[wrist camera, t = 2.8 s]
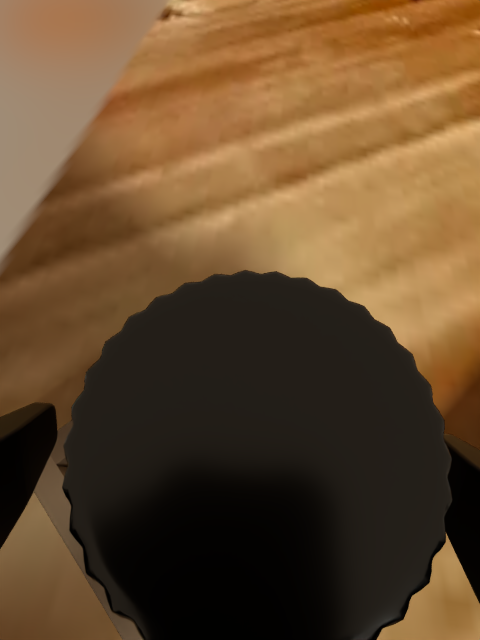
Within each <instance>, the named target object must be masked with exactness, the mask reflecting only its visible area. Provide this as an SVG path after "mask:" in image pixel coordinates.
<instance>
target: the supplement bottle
mask: <svg viewBox="0 0 480 640" xmlns="http://www.w3.org/2000/svg"><path fill="white" fill-rule="evenodd" d="M84 382H85V386H84V390H83V392H82V393H81V394H80V395H79V397H78V398H77V399H76V401H75V403H74V404H73V406H72V420H73V426H72V428H71V430H70V432H69V434H68V436H67V438H66V440H65V443H64V445H63V448H64V453H65V457H66V460H67V464H68V467H67V470H66V473H65V476H64V481H63V485H62V489H63V491H64V494H65V496H66V498H67V499H68V500H69V503H70V505H71V511H70V522H69V531H70V533H71V534H72V536H73V537H74V538H75V540H76V541H77V542H78V543H79V544H80V545H81V547H82V548H83V557H84V565H85V572H86V574H87V575H88V576H89V577H90V578H91V579H93V580H94V581H96V582H98V583H99V584H100V585H101V586H103V587H104V591H105V594H106V598H107V601H108V604H109V606H110V609H111V612H112V613H114V614H116V615H117V616H119V617H121V618H125V619H128V620H130V621H131V622H132V623H133V624H134V625H135V627H136V629H137V631H138V633H139V635H140V636H141V638H142V639H143V640H377V638H378V636H379V634H380V632H381V630H382V628H385V627H388V626H391V625H394V624H396V623H397V622H400V621H402V620H403V619H404V617H405V614H406V612H407V610H408V607H409V601H410V599H411V597H412V595H414V594H415V593H417V592H419V591H420V590H422V589H423V588H424V587H425V586H426V585H427V584H429V582H430V577H431V572H432V560H433V557H434V556H435V554H436V553H438V552H439V551H440V550H441V548H442V547H443V545H444V544H445V542H446V530H445V521H444V517H445V515H446V513H447V511H448V510H449V508H450V506H451V503H452V501H453V498H452V493H451V488H450V485H449V481H448V478H447V477H448V474H449V471H450V467H451V462H452V457H451V455H450V452H449V450H448V447H447V445H446V443H445V441H444V439H443V435H444V430H445V420H444V419H443V417H442V415H441V414H440V412H439V410H438V409H437V408H436V406H435V405H434V403H433V398H432V395H433V394H432V388H431V385H430V384H429V382H428V381H427V380H426V379H425V378H424V377H423V376H422V375H421V374H420V372H419V371H418V370H417V367H416V363H415V360H414V357H413V354H412V353H410V352H409V351H408V350H407V349H406V348H404V347H403V346H402V345H400V344H399V343H398V342H397V340H396V338H395V336H394V334H393V332H392V330H391V329H390V327H388V326H386V325H384V324H383V323H381V322H379V321H377V320H375V319H374V318H373V317H372V316H371V315H370V313H369V311H368V310H367V309H366V308H365V306H363V305H360V304H357V303H354V302H351V301H348V300H347V299H346V298H345V297H344V296H343V295H342V294H341V293H340V292H339V291H337V290H336V289H331V288H326V287H320V286H318V285H317V284H315V283H314V282H313V281H311V280H309V279H308V278H290V277H288V276H286V275H284V274H282V273H279V272H277V271H276V272H268V273H264V274H259V273H255V272H252V271H247V270H244V271H241V272H238V273H235V274H233V275H224V274H214V275H212V276H210V277H208V278H206V279H205V280H203V281H202V282H190V283H184V284H183V285H182V286H180V287H179V288H178V289H177V290H176V291H174V292H173V293H171V294H168V295H162V296H159V297H156V298H155V299H154V300H153V301H152V302H151V303H150V304H149V306H148V307H147V308H146V310H144V311H142V312H138V313H136V314H134V315H132V316H130V317H129V318H128V319H127V321H126V322H125V324H124V326H123V328H122V330H121V331H120V332H119V333H117V334H116V335H114V336H112V337H111V338H110V339H108V340H107V341H106V342H105V344H104V347H103V349H102V355H101V357H100V359H99V360H98V361H97V362H95V363H94V364H93V365H92V366H91V367H90V368H89V370H88V371H87V372H86V375H85V380H84Z"/></svg>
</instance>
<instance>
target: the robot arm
mask: <svg viewBox="0 0 480 640" xmlns="http://www.w3.org/2000/svg"><path fill="white" fill-rule="evenodd" d="M57 436H58V431H57V420H56V410H55V407H54V405H53V404H50V403H38V402H37V403H33V404H30V405H28V406H26V407H23V408H21V409H18V410H16V411H14V412H11V413H9V414H7V415H4V416H2V417H0V549H1V547H2V546H3V544H4V542H5V541H6V539H7V537H8V536H9V534H10V532H11V531H12V529H13V527H14V526H15V524H16V522H17V521H18V519H19V517H20V516H21V514H22V512H23V510H24V509H25V507H26V505H27V503H28V502H29V500H30V498H31V496H32V494H33V491H34V489H35V487H36V485H37V483H38V481H39V479H40V476H41V474H42V472H43V470H44V468H45V466H46V464H47V461H48V459H49V457H50V455H51V453H52V451H53V449H54V446H55V444H56V441H57ZM443 439H444V441H445V443H446V445H447V447H448V450H449V452H450V455H451V457H452V462H451V467H450V471H449V474H448V477H447V478H448V481H449V485H450V488H451V493H452V498H453V501H452V503H451V506H450V508H449V510H448V511H447V513H446V515H445V517H444V521H445V530H446V533H447V536H448V538H449V540H450V542H451V544H452V547H453V549H454V551H455V553H456V555H457V557H458V559H459V561H460V563H461V565H462V568H463V570H464V572H465V574H466V576H467V578H468V580H469V582H470V584H471V587H472V589H473V591H474V593H475V595H476V597H477V599H478V601H479V603H480V450H479V449H477V448H475V447H473V446H471V445H470V444H468V443H466V442H464V441H462V440H461V439H459V438H457V437H455V436H454V435H451V434H444V435H443Z"/></svg>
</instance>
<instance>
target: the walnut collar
mask: <svg viewBox="0 0 480 640" xmlns="http://www.w3.org/2000/svg"><path fill="white" fill-rule="evenodd" d="M72 426H73V420H71V421H70V422H68V423H67V424H66V425H64V426H63V427H62V428H60V429H59V430H58V436H57V441H56V444H55V446H54V449H53V451H52V453H51V455H50V457H49V459H48V461H47V464H46V466H45V468H44V470H43V472H42V474H41V476H40V479H39V481H38V483H37V485H36V487H35V489H34V493H35V494H36V496H37V498H38V499H39V501H40V503H41V504H42V506H43V508H44V509H45V511H46V513H47V514H48V516H49V518H50V519H51V521H52V523H53V524H54V526H55V528H56V529H57V531H58V533H59V534H60V536H61V538H62V539H63V541H64V543H65V544H66V546H67V548H68V549H69V551H70V553H71V554H72V556H73V558H74V559H75V561H76V563H77V564H78V566H79V568H80V569H81V571H82V573H83V574H84V576H85V578H86V579H87V581H88V583H89V584H90V586H91V588H92V589H93V591H94V593H95V594H96V596H97V598H98V599H99V601H100V603H101V604H102V606H103V608H104V609H105V611H106V613H107V614H108V616H109V618H110V619H111V621H112V623H113V624H114V626H115V628H116V629H117V631H118V633H119V634H120V636H121V638H122V639H123V640H143V639H142V638H141V636H140V635H139V633H138V631H137V629H136V627H135V625H134V624H133V623H132V622H131V621H130V620H128V619H125V618H121V617H119V616H117V615H116V614H114V613H112V612H111V609H110V606H109V604H108V601H107V598H106V594H105V591H104V587H103V586H101V585H100V584H99V583H98V582H96V581H94V580H93V579H91V578H90V577H89V576H88V575H87V574H86V572H85V565H84V557H83V548H82V547H81V545H80V544H79V543H78V542H77V541H76V540H75V538H74V537H73V536H72V534H71V533H70V531H69V522H70V511H71V505H70V503H69V500H68V499H67V498H66V496H65V494H64V491H63V489H62V485H63V481H64V476H65V473H66V470H67V467H68V464H67V460H66V457H65V453H64V448H63V445H64V443H65V440H66V438H67V436H68V434H69V432H70V430H71V428H72Z"/></svg>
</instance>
